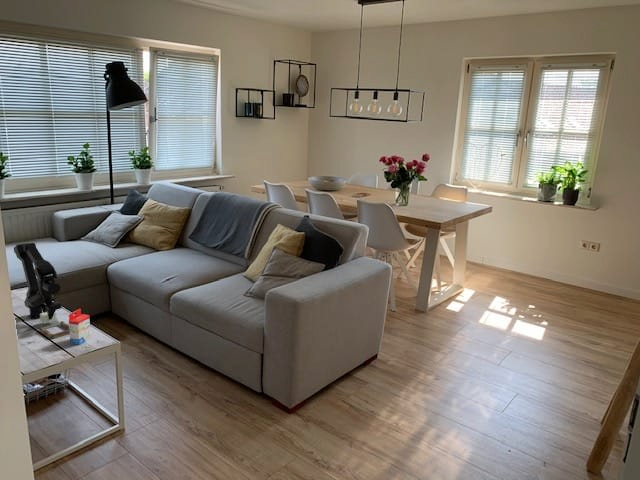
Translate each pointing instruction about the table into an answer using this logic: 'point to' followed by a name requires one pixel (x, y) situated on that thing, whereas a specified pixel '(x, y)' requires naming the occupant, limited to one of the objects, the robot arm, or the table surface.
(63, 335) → the frame
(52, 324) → the mat
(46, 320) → the sage block
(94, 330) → the table surface
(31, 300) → the robot arm
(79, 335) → the ink box
